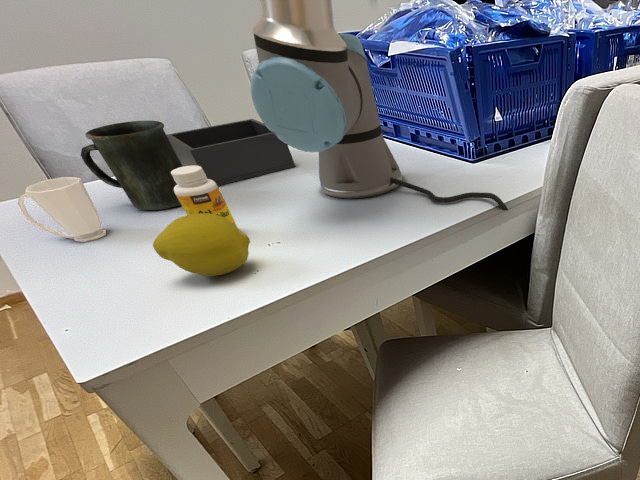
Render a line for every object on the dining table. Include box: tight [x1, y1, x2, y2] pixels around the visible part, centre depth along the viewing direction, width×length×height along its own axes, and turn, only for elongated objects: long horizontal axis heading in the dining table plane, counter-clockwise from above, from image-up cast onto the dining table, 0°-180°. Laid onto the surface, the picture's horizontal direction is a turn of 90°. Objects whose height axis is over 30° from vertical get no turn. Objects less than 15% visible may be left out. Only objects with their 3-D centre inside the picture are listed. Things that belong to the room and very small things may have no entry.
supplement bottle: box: [171, 165, 237, 226], centre depth 67 cm, size 6×6×10 cm
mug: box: [80, 120, 183, 211], centre depth 79 cm, size 11×15×12 cm
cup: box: [17, 176, 107, 243], centre depth 70 cm, size 7×10×8 cm
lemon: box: [152, 213, 251, 277], centre depth 60 cm, size 11×8×8 cm
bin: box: [166, 118, 296, 187], centre depth 94 cm, size 17×18×7 cm
